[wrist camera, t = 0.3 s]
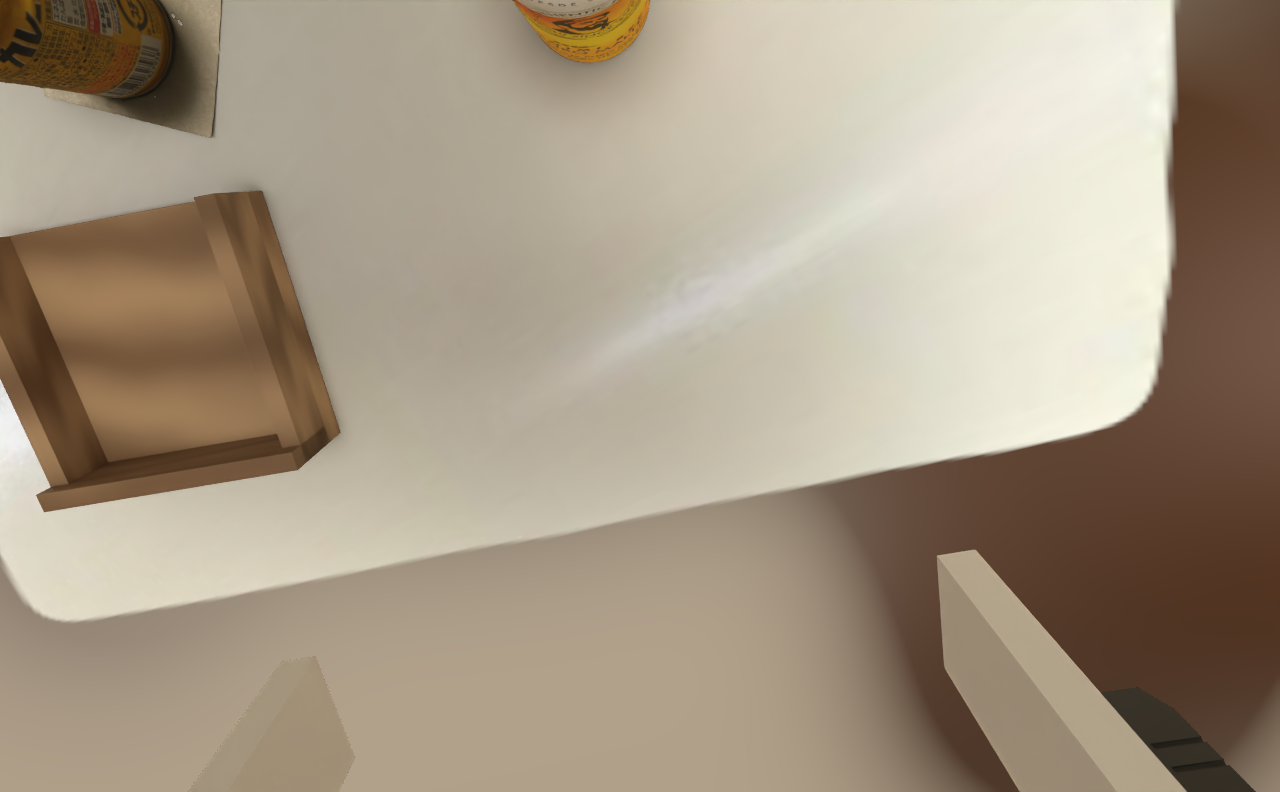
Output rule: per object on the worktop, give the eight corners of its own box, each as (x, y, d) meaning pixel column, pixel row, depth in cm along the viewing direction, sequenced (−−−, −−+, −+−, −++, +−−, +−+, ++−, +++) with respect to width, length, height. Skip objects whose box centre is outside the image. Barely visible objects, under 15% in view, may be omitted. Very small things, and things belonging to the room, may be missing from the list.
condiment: (47, -61, 35) (-246, -175, 23) (224, -14, 35) (23, -103, 24) (48, 96, 37) (-220, 63, 25) (214, 138, 37) (27, 124, 26)
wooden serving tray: (15, 237, 39) (-83, 247, 34) (261, 190, 38) (201, 194, 33) (116, 470, 43) (44, 512, 38) (340, 432, 42) (297, 470, 37)
